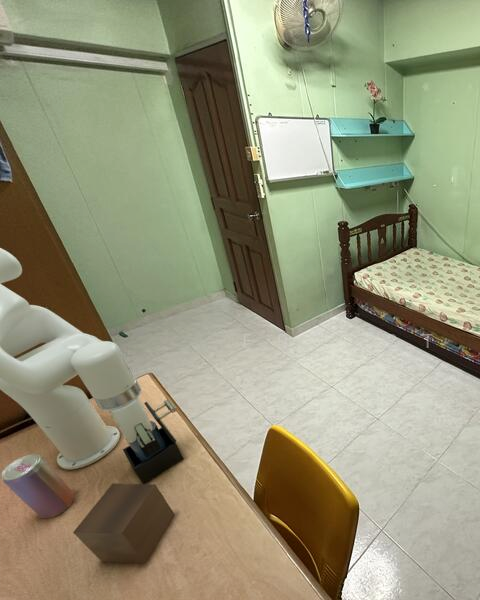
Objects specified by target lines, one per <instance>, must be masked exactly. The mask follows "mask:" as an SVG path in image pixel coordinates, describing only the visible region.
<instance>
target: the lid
mask: <svg viewBox="0 0 480 600" xmlns="http://www.w3.org/2000/svg"><path fill="white" fill-rule="evenodd" d="M143 405H144V406H145V408H147V410H148V411H149V413H150V414H151V416H152V417H153V419H154V420H155V422H156V423H157V424H158V425H159V426H160V428H161V427H162V429H163V430H164V431H165V432H166V434H167V435H168V436H169V437H170V439H171V440H172V441H173V442H174V443H176V442H177V439H176V438H175V437H174V435H173V434H172V433H171V431H170V430H169V428H168V427H167V425H166V424H165V423H164V421H163V420H162V419H164V418H165V417H167V416H168V415H170V414H174V413H176V412H177V410H178V408H177V407H176V405H175V404H174V403H173V402H172V400H171V399H169V398H168V399H164V401H163V403H161V404H160V405H158V406H156V407H155V408H153V407H151V405H150V404H149V403H148V401H145V402H144V403H143ZM165 407H166V408H167V409H168V410H166V411H165V412H163V413H161V414H160V415H158V414H157V412H158V411H161V410H162V409H164V408H165Z"/></svg>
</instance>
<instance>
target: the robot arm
mask: <svg viewBox="0 0 480 600" xmlns="http://www.w3.org/2000/svg"><path fill="white" fill-rule="evenodd" d="M22 274H23V268H22V265H21V263H20V261H19V260H18V259H17V257H16V256H14V255H13V254H12V253H10V252H9V251H7V250H6V249H4V248H1V247H0V391H2V393H4V394H6V395H7V396H8V397H9V398H11V399H12V400H13V401H15V402H16V403H17V404H18V405H19V406H20V407H21V408H23V409H24V410H25V412H27V414H28V415H29V416H30V417H31V419H32V420H33V421H34V422H35V423H36V424H37V426H38V427H39V428H40V429H41V431H42V432H43V433H44V434H45V436H46V437H47V438H48V439H49V440H50V441H51V443H52V444H53V445H54V446H55V447H56V449H57V450H58V451H59V453H58V454H57V457H56V463H57V466H59V467H60V468H61V469H64V470H77V469H81V468H84V467H87V466H90V465H91V464H94V463H96V462H97V461H99V460H100V459H102V458H104V457H105V456H106V455H108V454H109V453H110V452H111V451H112V450H113V449H114V448H115V447H116V446H117V444H118V443H119V441H120V438H121V433H122V435H123V436H124V438H125V440H126V439H127V440H126V442H127V441H128V442H129V443H132V442H134V441H136V439H137V441H138V442H139V444H140V446H139V447H140V448H141V450H142V452H143V453H144V455H145V457H149V456H150V455H152V454H153V453H155V452H157V451H158V450H160V449H161V447H160V445H159V443H158V441H157V440H156V438H155V437H153V435H152V433H151V432H150V431H152V430H153V427H152V425H151V423H150V421H151V420H150V418H149V416H148V414H147V412H146V409H145V406H144V404H143V403H142V401H141V400H140V395H141V393H142V387H141V386H140V384H139V381H138V380H137V377H136V376H135V374H134V372H133V370H132V369H131V367H130V365H129V363H128V361H127V360H126V358H125V355H124V354H123V352H122V350H121V348H120V346H119V345H118V344H117V343H115V342H112V341H108V340H101V339H99V338H98V337H97V336H94V335H92V334H88V333H84V332H83V331H81V330H80V329H79V328H77V327H75V326H74V325H73V324H71V323H69V321H66V320H65V319H63V318H62V317H61V316H59V315H58V314H56V313H55V312H53V311H52V310H50V309H48V308H45V307H44V306H40V305H37V304H36V305H35V304H30V303H29V302H28V300H26V299H25V298H24V297H22V296H20V295H19V294H17V293H16V292H14V291H12V290H11V289H10V288H8V287H6V286H5V285H3V284H4V283H6V282H10V281H13V280H15V279H18V278H19V277H20V276H21V275H22ZM43 343H44V344H43ZM40 344H43V345H41V346H39V347H36V346H37V345H40ZM34 347H36V348H34ZM33 348H34V349H33ZM30 349H32V350H30ZM28 350H30V351H29V352H27V353H25V354H22V353H24V352H26V351H28ZM21 354H22V355H21ZM18 355H20V356H19V357H17V358H15V357H16V356H18ZM76 376H78V377H79V378H80V380H81V381H82V383H83V385H85V387H86V389H87V391H88V392H89V394H90V396H91V397H92V399H93V400H94V401H95V403H96V405H97V406H98V408H99V409H100V410H101V411H105V412H106V411H108V412H109V414H110V415H111V417H112V419H113V421H114V422H115V424H116V425H117V427H118V428H119V429H118V428H117V427H115V426H113V425H107V424H106V423H105V422H104V420H103V418H102V417H101V416H100V414H99V413H98V411H97V410H96V408H95V407H94V405H93V404H92V402H91V400H90V399H89V398H88V396H87V394H86V393H85V392H84V391H83V390H82V389H81V388H79V387H77V386H74V385H68V384H66V383H68V382H69V381H70V380H72V379H73V378H75V377H76ZM144 429H147V430H144ZM119 430H120V431H119ZM137 433H138V435H137ZM147 433H148V434H149V436H150V437H149V436H148V435H147ZM140 437H141V438H142V440H143V441H142V442H141V440H140ZM128 442H127V443H128Z"/></svg>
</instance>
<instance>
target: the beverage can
mask: <svg viewBox="0 0 480 600" xmlns="http://www.w3.org/2000/svg"><path fill="white" fill-rule="evenodd" d="M0 478H1V480H2V482H3V483H4V484H5V485H6V487H8V488H9V489H10V490H11V491H12V492H13V493H14V494H15V495H16V496H17V497H18V498H19V499H20V500H21V501H23V503H24V504H26V505H27V506H28V507H29V509H31V510H32V511H33V512H34V513H35V514H36V515H37V516H38V517H39V518H41V519H49V518H54V517H56V516H58V515H60V514H62V513H63V512H64V511H66V510H67V509H68V508H69V507H70V506H71V505H72V503H74V500H75V492H74V491H73V490H72V489H71V487H70V486H69V485H68V484H67V483H66V482H65V480H64V479H63V478H62V477H61V476H60V475H59V474H58V472H57V471H56V470H55V469H54V468H53V467H52V466H51V464H50V463H48V461H47V460H46V459H45V458H44V457H43V456H41V455H39V454H37V453H31V454H27V455H24V456H21V457H19V458H18V459H16V460H13V462H11V463H10V464H8V465H7V466H5V468H3V471H2V472H1V474H0Z"/></svg>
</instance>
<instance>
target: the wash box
mask: <svg viewBox="0 0 480 600" xmlns="http://www.w3.org/2000/svg"><path fill="white" fill-rule="evenodd" d="M158 429H159V431H160V433H161V434H162V436H163V438H164V440H165V442H166V444H167V445H168V447H166V448H165V449H163V450H162V451H160V452H158V453H157V454H155V455H153V456H152V457H150V458H148V459H147V460H145V461H144V462H142V463H141V462H140V461H139V459H138V458H137V456H136V455H135V453H134V451H133V450H132V448H131V447H130V445H128V446H127V447H124V448H123V449H122V451H123V453H124V455H125V457H126V458H127V461H128V463H129V465H130V466H131V468H132V470H133V471H134V473H135V474H136V476H137V478H138V479H139V480H140V482H141V484H149V483H150V482H152V481H153V480H154V479H156V478H157V477H159V476H160V475H162V474H163V473H165V472H166V471H169V469H171V468H172V467H175V466H176V465H178V463H180V462H181V461H183V460H185V458H184V455H183V454H182V452H181V450H180V448H179V446H178V444H177V443H176V442H175V443H174V442H173V441H172V440H171V439H170V437H169V436H168V435H167V434H166V432H165V431H164V430H163V429H162V427H161V426H160V427H159V428H158Z"/></svg>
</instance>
